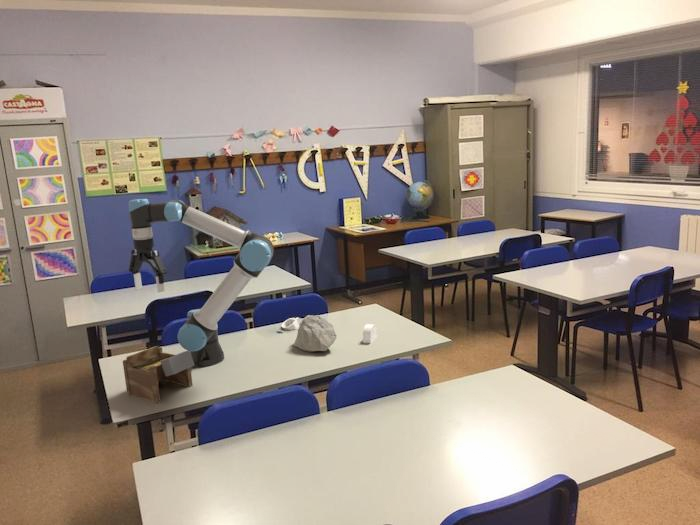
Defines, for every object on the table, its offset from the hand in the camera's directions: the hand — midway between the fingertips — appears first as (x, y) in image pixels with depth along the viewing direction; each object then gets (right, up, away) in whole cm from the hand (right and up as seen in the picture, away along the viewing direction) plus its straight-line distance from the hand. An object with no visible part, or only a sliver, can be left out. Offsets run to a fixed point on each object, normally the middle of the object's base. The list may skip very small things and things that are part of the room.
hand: (149, 290), depth 230 cm
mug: (+55, -26, +61) cm, 86 cm away
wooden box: (+7, -39, -9) cm, 40 cm away
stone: (+9, -27, -14) cm, 31 cm away
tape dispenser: (+90, -28, +34) cm, 101 cm away
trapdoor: (+11, -31, -13) cm, 36 cm away
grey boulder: (+65, -28, +27) cm, 76 cm away
